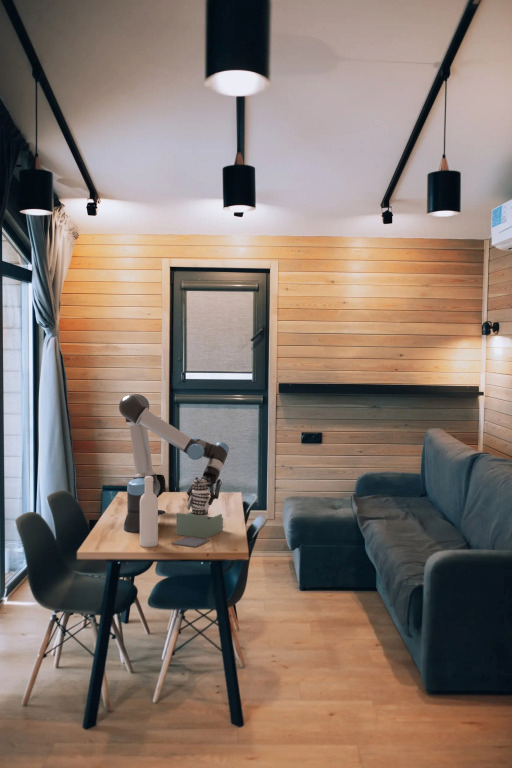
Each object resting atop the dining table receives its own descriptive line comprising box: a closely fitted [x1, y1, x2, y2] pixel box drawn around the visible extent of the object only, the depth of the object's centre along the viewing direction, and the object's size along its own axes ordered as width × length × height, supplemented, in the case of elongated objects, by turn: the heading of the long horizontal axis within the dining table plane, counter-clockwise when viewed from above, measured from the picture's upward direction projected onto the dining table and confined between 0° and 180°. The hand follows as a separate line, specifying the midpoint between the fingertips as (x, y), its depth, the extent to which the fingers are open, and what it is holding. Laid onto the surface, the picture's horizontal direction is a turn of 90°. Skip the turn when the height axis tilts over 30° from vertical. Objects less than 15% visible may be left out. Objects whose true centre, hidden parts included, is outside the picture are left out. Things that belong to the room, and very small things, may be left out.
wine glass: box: [156, 473, 167, 516], centre depth 342 cm, size 10×10×20 cm
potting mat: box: [171, 536, 210, 548], centre depth 283 cm, size 12×12×1 cm
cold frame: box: [175, 511, 224, 539], centre depth 301 cm, size 16×16×10 cm
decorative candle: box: [190, 479, 210, 519], centre depth 300 cm, size 9×9×25 cm
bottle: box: [139, 476, 159, 548], centre depth 279 cm, size 8×8×30 cm
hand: (196, 509), depth 298 cm, fingers closed on decorative candle, 9 cm apart
